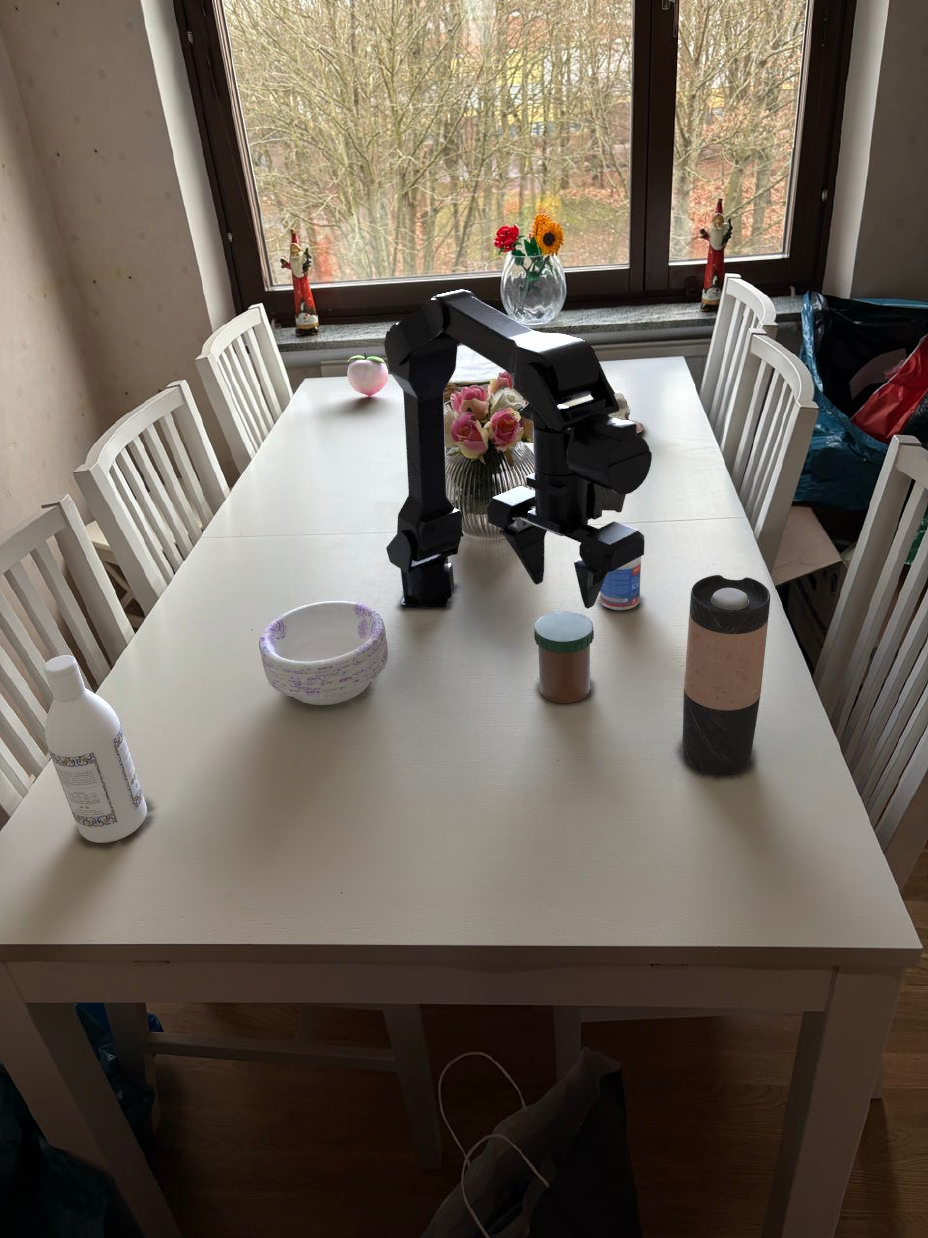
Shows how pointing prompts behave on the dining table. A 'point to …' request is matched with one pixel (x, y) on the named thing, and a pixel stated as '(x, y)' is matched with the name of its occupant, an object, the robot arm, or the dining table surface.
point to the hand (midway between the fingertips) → (563, 594)
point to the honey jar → (564, 675)
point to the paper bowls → (324, 651)
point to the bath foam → (91, 757)
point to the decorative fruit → (367, 374)
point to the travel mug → (723, 672)
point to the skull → (624, 411)
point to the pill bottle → (622, 587)
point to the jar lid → (564, 632)
